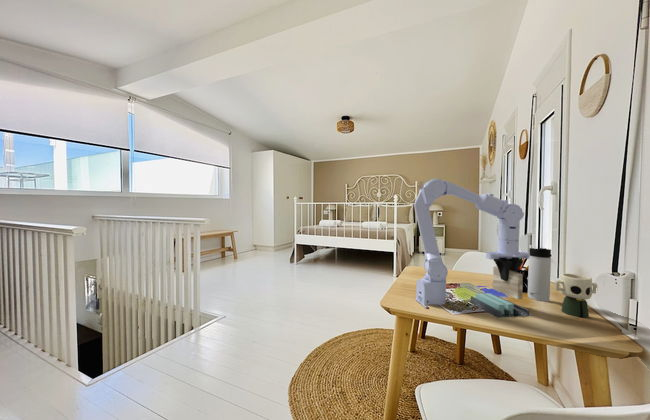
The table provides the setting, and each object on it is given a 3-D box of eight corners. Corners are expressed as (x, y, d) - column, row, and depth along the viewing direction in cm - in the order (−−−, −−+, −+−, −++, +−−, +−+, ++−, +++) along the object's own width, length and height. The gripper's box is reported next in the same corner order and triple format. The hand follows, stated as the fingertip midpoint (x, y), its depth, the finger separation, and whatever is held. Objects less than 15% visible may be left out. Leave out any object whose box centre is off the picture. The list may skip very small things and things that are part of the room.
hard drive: (510, 297, 95) (498, 287, 107) (486, 295, 97) (476, 285, 109) (510, 301, 95) (498, 291, 107) (485, 299, 97) (476, 289, 109)
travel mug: (531, 302, 93) (533, 248, 92) (525, 296, 99) (526, 245, 98) (553, 305, 90) (555, 249, 90) (545, 299, 97) (547, 246, 96)
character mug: (561, 319, 80) (562, 277, 79) (547, 310, 86) (549, 271, 86) (604, 323, 77) (606, 281, 76) (587, 314, 84) (588, 274, 83)
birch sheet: (517, 299, 81) (518, 274, 81) (492, 288, 91) (493, 266, 91) (522, 299, 81) (522, 274, 81) (497, 288, 91) (497, 266, 91)
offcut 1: (498, 314, 80) (498, 305, 80) (475, 302, 90) (476, 293, 90) (504, 314, 81) (504, 304, 80) (481, 301, 90) (481, 293, 90)
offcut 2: (507, 313, 81) (508, 304, 81) (484, 301, 91) (484, 293, 91) (513, 313, 81) (513, 304, 81) (489, 301, 91) (489, 293, 91)
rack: (496, 320, 78) (497, 312, 78) (465, 303, 92) (466, 296, 92) (534, 318, 80) (534, 310, 80) (498, 301, 94) (498, 294, 94)
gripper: (498, 241, 81) (497, 284, 81) (538, 241, 83) (537, 282, 83) (481, 238, 88) (480, 277, 88) (519, 238, 90) (518, 276, 90)
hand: (507, 279), depth 86 cm, fingers closed on birch sheet, 2 cm apart
